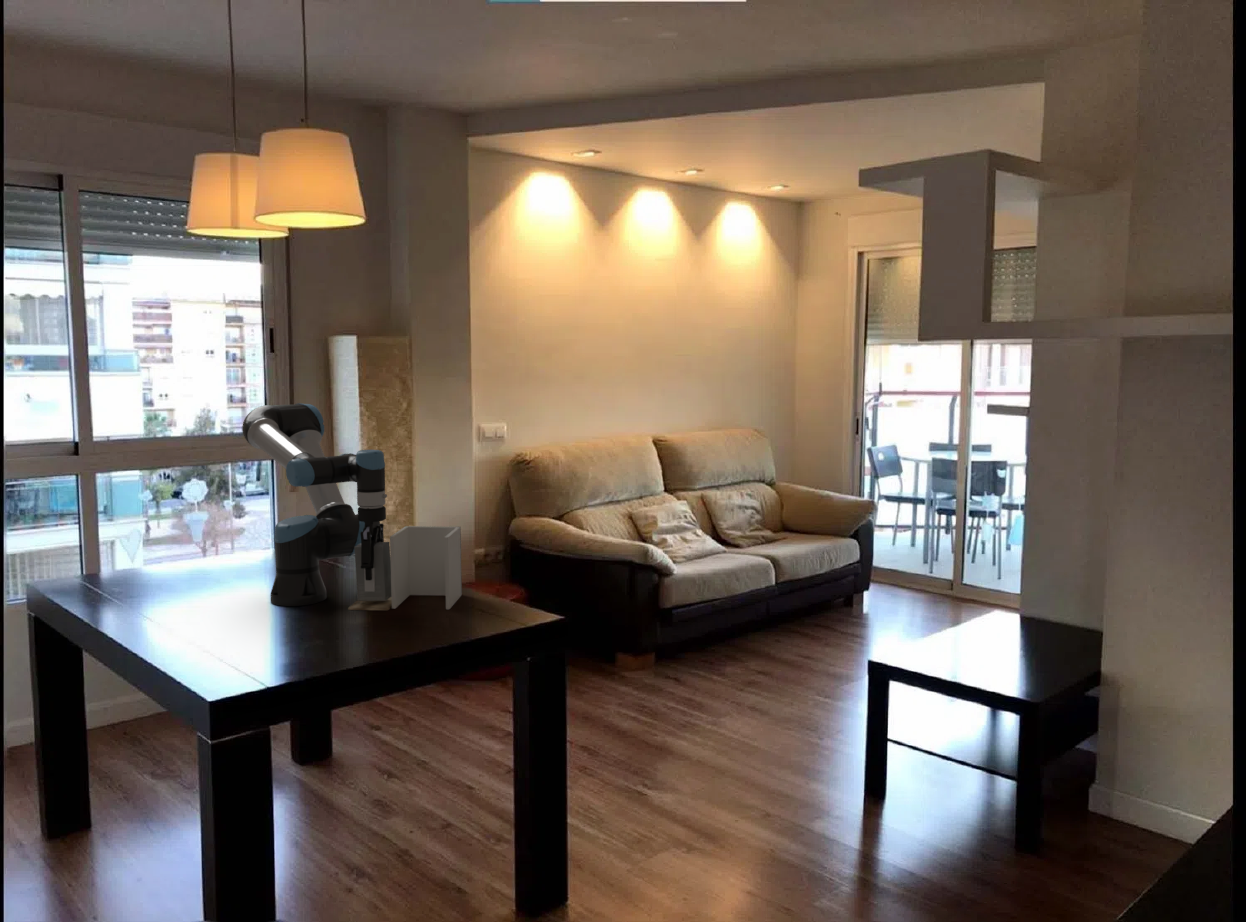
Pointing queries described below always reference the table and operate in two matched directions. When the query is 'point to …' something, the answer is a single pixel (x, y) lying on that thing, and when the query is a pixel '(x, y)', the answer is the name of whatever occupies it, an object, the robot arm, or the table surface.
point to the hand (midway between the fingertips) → (374, 587)
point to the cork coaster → (371, 605)
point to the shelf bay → (426, 563)
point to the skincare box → (381, 573)
